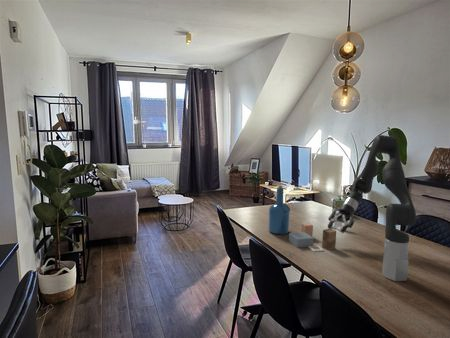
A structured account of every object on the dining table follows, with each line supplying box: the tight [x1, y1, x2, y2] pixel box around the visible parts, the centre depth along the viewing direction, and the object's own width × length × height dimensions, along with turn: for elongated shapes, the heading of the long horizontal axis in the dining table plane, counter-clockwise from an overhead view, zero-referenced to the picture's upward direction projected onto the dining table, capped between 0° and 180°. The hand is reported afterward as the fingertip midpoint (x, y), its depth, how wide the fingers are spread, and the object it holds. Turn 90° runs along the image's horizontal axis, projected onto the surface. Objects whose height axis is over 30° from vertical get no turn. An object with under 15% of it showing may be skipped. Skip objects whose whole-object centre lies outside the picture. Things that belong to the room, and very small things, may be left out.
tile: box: [308, 245, 324, 253], centre depth 166 cm, size 6×6×1 cm
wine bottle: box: [267, 184, 291, 235], centre depth 192 cm, size 14×13×30 cm
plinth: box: [288, 231, 315, 248], centre depth 174 cm, size 10×10×5 cm
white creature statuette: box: [330, 211, 344, 232], centre depth 201 cm, size 10×9×12 cm
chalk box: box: [331, 194, 346, 213], centre depth 235 cm, size 9×9×15 cm
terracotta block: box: [300, 222, 314, 237], centre depth 185 cm, size 5×5×8 cm
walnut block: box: [321, 228, 337, 251], centre depth 168 cm, size 5×5×10 cm
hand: (335, 229), depth 170 cm, fingers open, 8 cm apart
